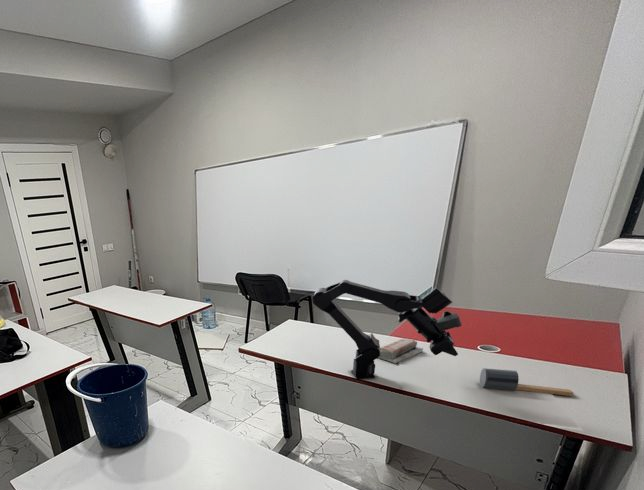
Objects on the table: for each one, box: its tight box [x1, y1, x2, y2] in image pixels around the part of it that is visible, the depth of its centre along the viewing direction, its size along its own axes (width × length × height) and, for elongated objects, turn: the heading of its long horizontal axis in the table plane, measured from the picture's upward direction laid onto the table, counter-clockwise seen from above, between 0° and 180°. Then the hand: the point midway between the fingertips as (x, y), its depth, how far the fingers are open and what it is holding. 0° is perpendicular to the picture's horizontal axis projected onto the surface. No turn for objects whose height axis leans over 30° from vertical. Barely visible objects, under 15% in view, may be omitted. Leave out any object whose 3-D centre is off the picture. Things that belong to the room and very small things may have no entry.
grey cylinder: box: [479, 368, 520, 391], centre depth 116 cm, size 6×6×8 cm
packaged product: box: [377, 338, 424, 364], centre depth 147 cm, size 18×5×10 cm
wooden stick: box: [515, 383, 574, 397], centre depth 113 cm, size 1×2×19 cm
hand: (456, 354), depth 119 cm, fingers closed
